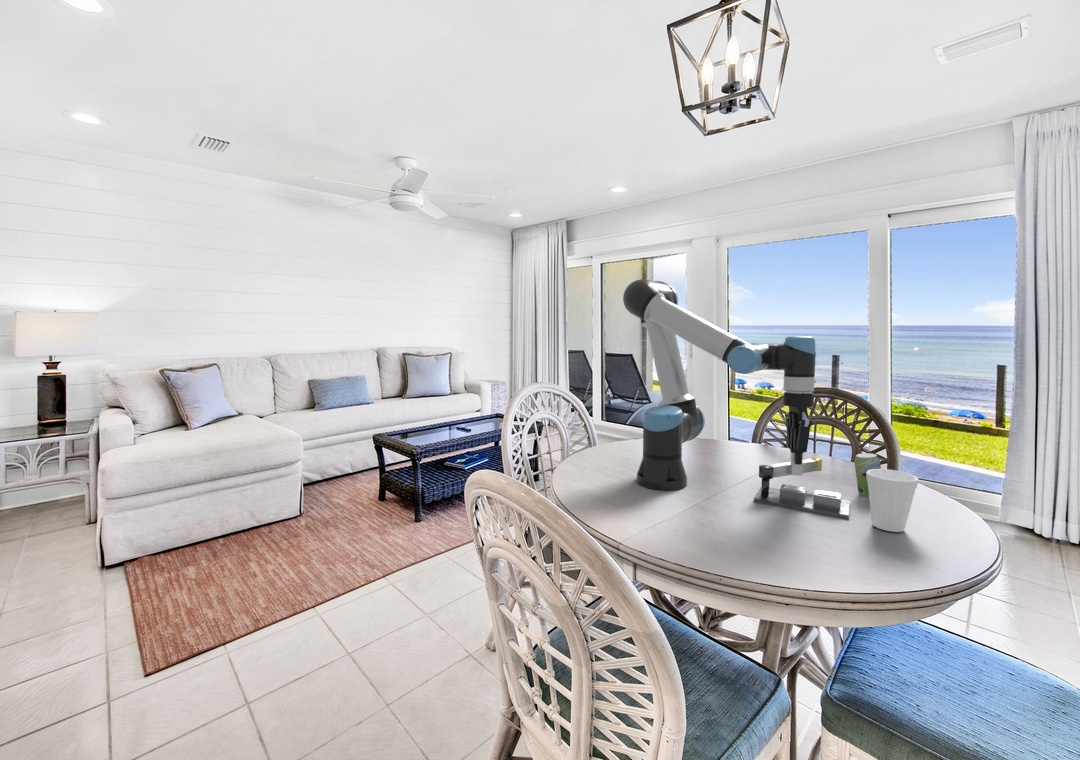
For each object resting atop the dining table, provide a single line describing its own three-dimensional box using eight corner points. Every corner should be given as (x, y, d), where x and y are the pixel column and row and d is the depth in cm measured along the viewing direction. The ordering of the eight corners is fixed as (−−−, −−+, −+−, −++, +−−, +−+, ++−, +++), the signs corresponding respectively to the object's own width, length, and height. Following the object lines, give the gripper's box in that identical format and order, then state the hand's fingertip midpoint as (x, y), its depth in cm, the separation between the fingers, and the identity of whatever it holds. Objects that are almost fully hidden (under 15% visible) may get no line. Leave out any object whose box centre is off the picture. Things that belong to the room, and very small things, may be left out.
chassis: (753, 501, 131) (754, 481, 130) (761, 489, 141) (762, 470, 140) (848, 519, 119) (850, 497, 118) (849, 504, 128) (851, 483, 128)
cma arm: (765, 480, 131) (766, 468, 131) (755, 476, 134) (756, 465, 134) (825, 470, 139) (825, 460, 139) (814, 467, 142) (814, 457, 142)
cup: (917, 540, 106) (922, 484, 105) (863, 531, 112) (867, 477, 110) (911, 525, 115) (915, 472, 113) (861, 516, 120) (865, 466, 119)
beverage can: (887, 500, 131) (890, 457, 130) (858, 498, 133) (860, 456, 132) (876, 492, 138) (879, 452, 136) (848, 490, 139) (851, 450, 138)
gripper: (823, 394, 125) (820, 481, 127) (803, 389, 138) (801, 469, 140) (793, 394, 126) (790, 480, 128) (776, 389, 139) (774, 468, 141)
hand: (796, 474), depth 134 cm, fingers closed
